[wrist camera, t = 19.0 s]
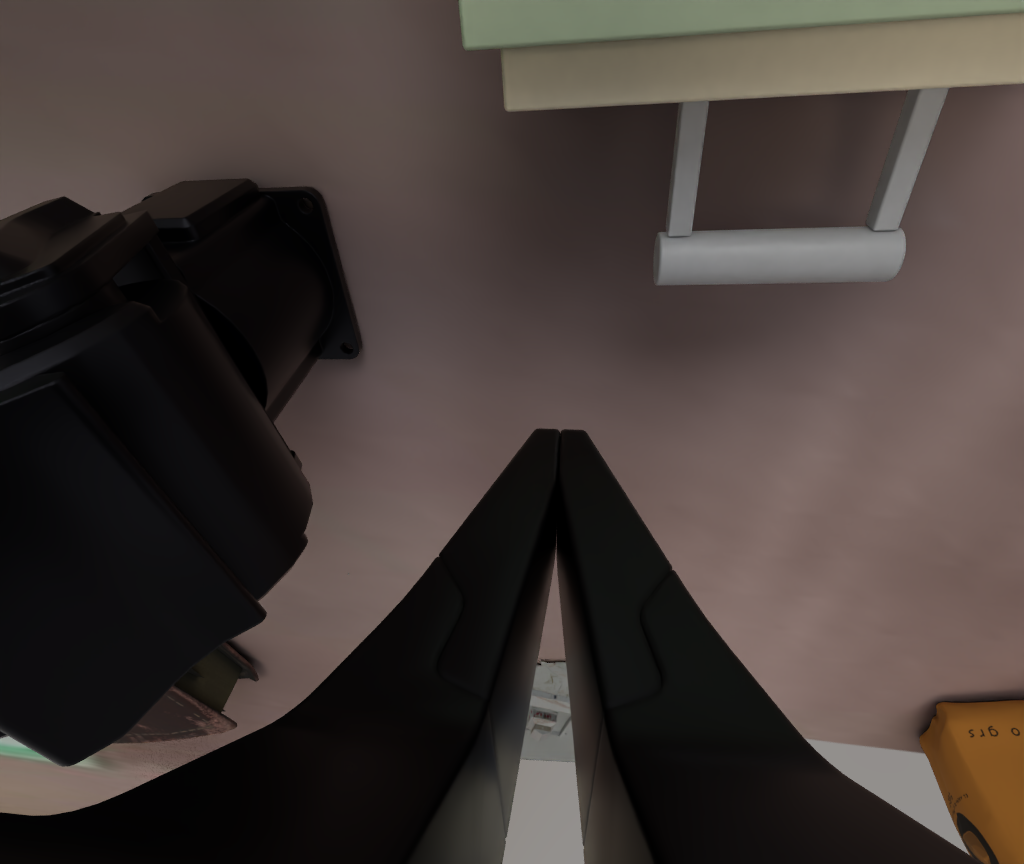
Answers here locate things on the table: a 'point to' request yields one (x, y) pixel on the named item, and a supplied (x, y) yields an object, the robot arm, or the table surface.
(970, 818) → the coffee package
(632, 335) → the table surface
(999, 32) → the drawer
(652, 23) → the cabinet
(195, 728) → the diary
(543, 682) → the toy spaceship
